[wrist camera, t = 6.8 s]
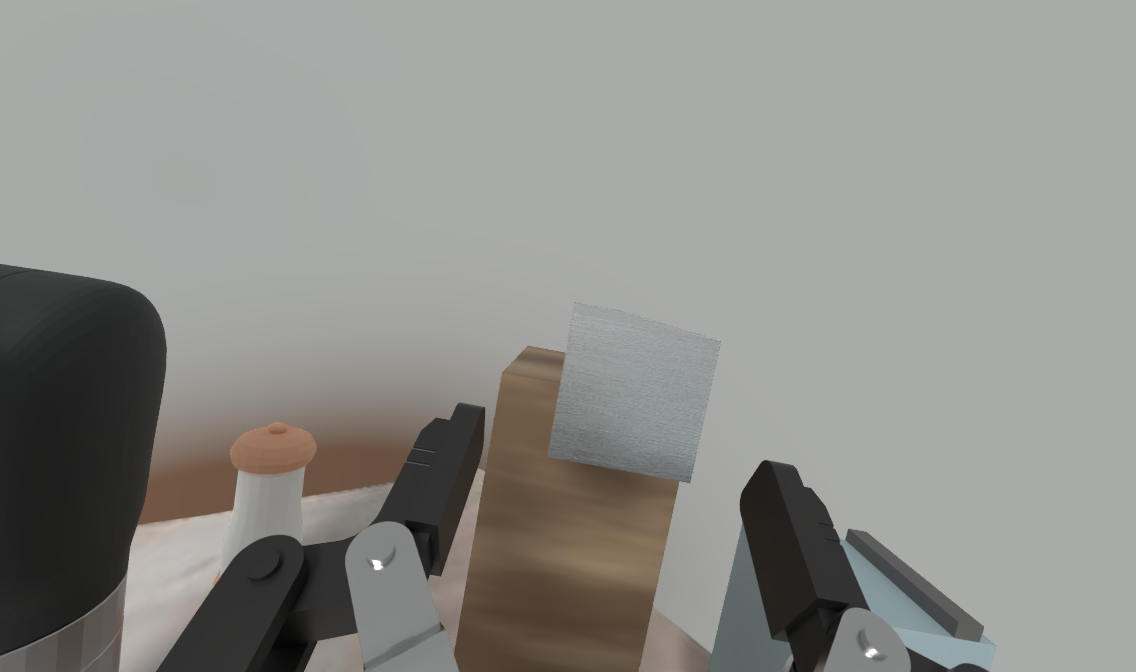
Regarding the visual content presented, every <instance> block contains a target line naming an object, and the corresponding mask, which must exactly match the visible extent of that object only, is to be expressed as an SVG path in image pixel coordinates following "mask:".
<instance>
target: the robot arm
mask: <svg viewBox="0 0 1136 672" xmlns="http://www.w3.org/2000/svg"><path fill="white" fill-rule="evenodd" d="M166 353H167V347H166V339H165V332H164V328H163V324H162V321H161V319H160V316H159V314H158V312H157V311H156V309H155V307H154V306H153V304H152V303H151V302H150V301H149V300H148V299H147V298H146V297H145V296H144V295H143V294H141V293H140V292H138V291H136V290H134V289H132V288H130V287H128V286H125V285H122V284H118V283H115V282H111V281H105V280H99V279H95V278H89V277H83V276H77V275H70V274H64V273H57V272H51V271H44V270H37V269H30V268H23V267H17V266H10V265H3V264H0V672H119V664H120V653H121V642H122V631H123V620H124V605H125V594H126V582H127V571H128V562H129V553H130V546H131V542H132V539H133V536H134V533H135V530H136V527H137V524H138V521H139V518H140V515H141V512H142V509H143V505H144V501H145V496H146V490H147V483H148V478H149V470H150V462H151V455H152V449H153V444H154V437H155V431H156V426H157V420H158V415H159V410H160V404H161V398H162V393H163V387H164V379H165V372H166ZM484 423H485V407H480V406H475V405H470V404H464V403H458V404H457V406H456V408H455V410H454V412H453V415H452V417H451V419H450V420H446V419H440V418H435V419H434V420H433V421H432V422H431V423H429V425H427V426H426V427H425V428H424V429H423V430H422V431H421V432H420V435H419V436H418V438H417V441H416V442H415V444H414V447H413V450H411V452H410V454H409V456H408V458H407V461H406V463H405V464H404V466H403V468H402V470H401V472H400V474H399V476H398V477H397V479H396V481H395V483H394V485H393V487H392V489H391V491H390V493H389V495H388V497H387V499H386V501H385V503H384V505H383V507H382V509H381V511H380V513H379V514H378V516H377V517H376V519H375V520H374V521H373V522H372V523H371V524H370V525H369V526H368V527H367V528H366V529H364V530H363V531H362V532H360V533H358V534H357V535H355V536H352V537H350V538H347V539H344V540H340V541H335V542H328V543H321V544H314V545H307V546H302V545H301V544H300V542H299V541H298V540H296V539H295V538H293V537H291V536H288V535H271V536H267V537H264V538H261V539H259V540H257V541H255V542H253V543H251V544H250V545H248V546H247V547H245V548H244V549H243V550H241V551H240V552H239V553H238V554H237V555H236V556H235V557H234V558H233V560H232V561H231V562H230V564H229V565H228V567H227V568H226V569H225V571H224V572H223V574H222V575H221V577H220V578H219V580H218V581H217V583H216V584H215V586H214V587H213V589H212V590H211V592H210V593H209V595H208V596H207V597H206V599H205V600H204V602H203V603H202V605H201V606H200V608H199V609H198V611H197V612H196V614H195V615H194V617H193V618H192V620H191V621H190V622H189V624H188V625H187V627H186V628H185V630H184V631H183V633H182V634H181V636H180V637H179V639H178V640H177V642H176V643H175V645H174V646H173V648H172V649H171V650H170V652H169V653H168V655H167V656H166V658H165V659H164V661H163V662H162V664H161V665H160V667H159V668H158V670H157V671H156V672H304V670H305V668H306V666H307V664H308V662H309V659H310V657H311V655H312V653H313V650H314V648H315V646H316V644H317V641H319V640H324V639H329V638H334V637H339V636H344V635H349V634H354V633H358V635H359V641H360V646H361V651H362V657H363V663H364V672H459V670H458V666H457V663H456V660H455V657H454V654H453V651H452V648H451V645H450V642H449V639H448V636H447V633H446V631H445V629H444V627H443V625H442V624H441V622H440V620H439V617H438V614H437V611H436V608H435V604H434V601H433V598H432V595H431V592H430V589H429V585H428V582H427V581H428V578H429V576H430V575H435V576H441V575H442V572H443V569H444V566H445V563H446V560H447V557H448V554H449V551H450V548H451V545H452V542H453V539H454V536H455V533H456V530H457V527H458V524H459V521H460V518H461V515H462V512H463V509H464V506H465V504H466V501H467V498H468V495H469V492H470V489H471V486H472V483H473V480H474V477H475V474H476V471H477V468H478V465H479V462H480V458H481V454H482V450H483V442H484V425H485V424H484ZM740 512H741V517H742V521H743V525H744V529H745V533H746V537H747V541H748V545H749V549H750V553H751V558H752V562H753V566H754V570H755V574H756V578H757V582H758V586H759V590H760V594H761V598H762V602H763V606H764V611H765V615H766V619H767V623H768V627H769V631H770V635H771V639H772V640H778V641H783V642H789V644H790V647H791V651H792V654H791V655H790V656H789V658H788V659H787V661H786V664H785V666H784V669H783V671H782V672H989V671H987V670H986V669H984V668H982V667H980V666H977V665H974V664H970V663H962V664H959V665H957V666H955V667H953V668H951V669H948V668H946V667H944V666H942V665H940V664H938V663H936V662H934V661H933V660H931V659H929V658H927V657H925V656H923V655H921V654H919V653H917V652H915V651H913V650H911V649H909V648H908V647H906V646H905V645H904V643H903V642H902V640H901V638H900V637H899V636H898V634H897V633H896V632H895V631H894V629H893V628H892V627H891V626H890V625H889V624H888V623H887V622H885V621H884V620H883V619H882V618H881V617H879V616H878V615H876V614H874V613H873V612H871V610H870V608H869V606H868V604H867V602H866V600H865V597H864V595H863V593H862V590H861V588H860V586H859V583H858V581H857V579H856V576H855V574H854V572H853V569H852V567H851V565H850V562H849V560H848V558H847V555H846V553H845V551H844V548H843V546H842V545H840V539H839V537H838V534H837V532H836V530H835V529H833V526H834V525H833V523H832V520H831V518H830V516H829V514H828V511H827V509H826V506H825V505H824V504H823V503H822V501H821V500H820V499H819V498H818V496H817V495H816V494H815V493H814V491H813V490H812V489H811V488H808V487H804V486H803V483H802V481H801V478H800V476H799V473H798V471H797V469H796V468H795V467H794V466H793V465H789V464H784V463H779V462H773V461H768V460H764V461H762V462H761V464H760V465H759V467H758V468H757V470H756V471H755V473H754V474H753V476H752V477H751V479H750V480H749V482H748V483H747V485H746V486H745V488H744V489H743V491H742V494H741V498H740Z"/></svg>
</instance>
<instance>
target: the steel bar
mask: <svg viewBox="0 0 1136 672" xmlns="http://www.w3.org/2000/svg"><path fill="white" fill-rule="evenodd" d="M720 343H721V341H719V340H715V339H712V338H709V337H706V336H702V335H699V334H696V333H693V332H689V331H686V330H683V329H679V328H676V327H673V326H669V325H666V324H663V323H659V322H656V321H653V320H649V319H646V318H643V317H640V316H636V315H633V314H630V313H626V312H622V311H620V310H614V309H609V308H603V307H598V306H592V305H587V304H582V303H576V302H574V307H573V313H572V319H571V324H570V330H569V334H568V340H567V345H566V351H565V357H564V363H563V369H562V374H561V380H560V386H559V392H558V398H557V404H556V409H555V415H554V421H553V427H552V433H551V439H550V444H549V450H548V456H547V457H551V458H557V459H562V460H567V461H573V462H578V463H584V464H589V465H595V466H600V467H606V468H611V469H617V470H622V471H627V472H633V473H638V474H644V475H649V476H655V477H660V478H666V479H671V480H677V481H683V482H687V483H690V481H691V476H692V472H693V467H694V463H695V458H696V454H697V449H698V444H699V440H700V435H701V430H702V426H703V421H704V417H705V412H706V408H707V403H708V398H709V394H710V389H711V385H712V380H713V375H714V371H715V366H716V362H717V357H718V353H719V348H720Z"/></svg>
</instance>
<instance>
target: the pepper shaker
mask: <svg viewBox="0 0 1136 672" xmlns="http://www.w3.org/2000/svg"><path fill="white" fill-rule="evenodd" d="M316 449H317V448H316V442H315V441H314V439H313V437H312V436H311V434H310V433H309V432H307V431H305V430H302V429H299V428H296V427H292V426H287V425H286V424H285V423H283V422H275V423H272V424H270V426H266V427H262V428H258V429H255V430H251V431H248V432H246V433H244V434H242V435H241V436H240V438H239V439H238V440H237V441H236V442H235V443H234V444H233V446H232V448H231V450H230V457H231V460H232V463H233V465H234V466H235V467H236V468H237V469H239V471H238V479H237V487H236V496H235V504H234V509H233V512H232V515H231V518H230V522H229V525H228V528H227V531H226V534H225V537H224V541H223V544H222V554H221V568H220V572H219V573H218V575H217V577H216V578H215V580H214V586H215V584H216V583H217V581H218V580H219V578H220V577H221V575H222V574H223V572H224V571H225V569H226V568H227V567H228V565H229V564H230V562H231V561H232V560H233V558H234V557H235V556H236V555H237V554H238V553H239V552H240V551H241V550H243V549H244V548H245V547H247V546H248V545H250V544H251V543H253V542H255V541H257V540H259V539H261V538H264V537H267V536H271V535H288V536H291V537H293V538H295V539H296V540H298V541H299V542H300V544H302V538H303V524H302V508H301V497H302V489H303V480H304V472H305V466H306V465H307V464H308V463H309V462H310V461H311V460H312V458H313V456H314V454H315V452H316ZM214 586H213V587H214Z"/></svg>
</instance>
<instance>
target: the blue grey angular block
mask: <svg viewBox="0 0 1136 672" xmlns="http://www.w3.org/2000/svg"><path fill="white" fill-rule="evenodd" d="M840 545H842V546H843V548H844V551H845V553H846V555H847V558H848V560H849V562H850V565H851V567H852V569H853V572H854V574H855V576H856V579H857V581H858V583H859V586H860V588H861V590H862V593H863V595H864V597H865V600H866V602H867V604H868V606H869V608H870V610H871V612H873V613H874V614H876V615H878V616H879V617H881V618H882V619H883V620H884V621H885V622H887V623H888V624H889V625H890V626H891V627H892V628H893V629H894V631H895V632H896V633H897V634H898V636H899V637H900V638H901V640H902V642H903V643H904V645H905V646H906V647H908V648H909V649H911V650H913V651H915V652H917V653H919V654H921V655H923V656H925V657H927V658H929V659H931V660H933V661H934V662H936V663H938V664H940V665H942V666H944V667H946V668H948V669H951V668H953V667H955V666H957V665H959V664H962V663H970V664H974V665H977V666H980V667H982V668H984V669H986V670H987V671H989V669H990V666H991V662H992V659H993V655H994V652H995V649H996V645H995V644H994V643H992V642H991V641H990V640H989V639H988V638H986V637H985V636H984V635H983V634H982V633H983V629H984V626H982V625H981V624H980V623H979V622H977V621H976V620H975V619H974V618H973V617H971V616H970V615H969V614H967V613H966V612H965V611H964V610H962V609H961V608H960V607H959V606H958V605H956V604H955V603H954V602H953V601H951V600H950V599H949V598H947V597H946V596H945V595H944V594H943V593H942V592H940V591H939V590H938V589H937V588H935V587H934V586H933V585H932V584H930V583H929V582H928V581H926V580H925V579H924V578H923V577H922V576H920V575H919V574H918V573H917V572H915V571H914V570H913V569H912V568H910V567H909V566H908V565H907V564H906V563H904V562H903V561H902V560H900V559H899V558H898V557H897V556H896V555H894V554H893V553H892V552H891V551H889V550H888V549H887V548H886V547H884V546H883V545H882V544H881V543H879V542H878V541H877V540H876V539H874V538H873V537H872V536H871V535H869V534H868V533H867V532H864V531H858V530H853V529H848V532H847V536H846V540H842V539H840ZM791 654H792V651H791V647H790V644H789V642H783V641H778V640H772V639H771V635H770V631H769V627H768V623H767V619H766V615H765V611H764V606H763V602H762V598H761V594H760V590H759V586H758V582H757V578H756V574H755V570H754V566H753V562H752V558H751V553H750V549H749V545H748V541H747V537H746V533H745V529H744V525H743V523H742V527H741V532H740V536H739V540H738V544H737V549H736V554H735V558H734V562H733V566H732V570H731V575H730V579H729V583H728V588H727V592H726V596H725V601H724V605H723V609H722V613H721V618H720V622H719V626H718V631H717V635H716V639H715V644H714V648H713V652H712V656H711V661H710V665H709V669H708V672H782V671H783V669H784V666H785V664H786V661H787V659H788V658H789V656H790V655H791Z"/></svg>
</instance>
